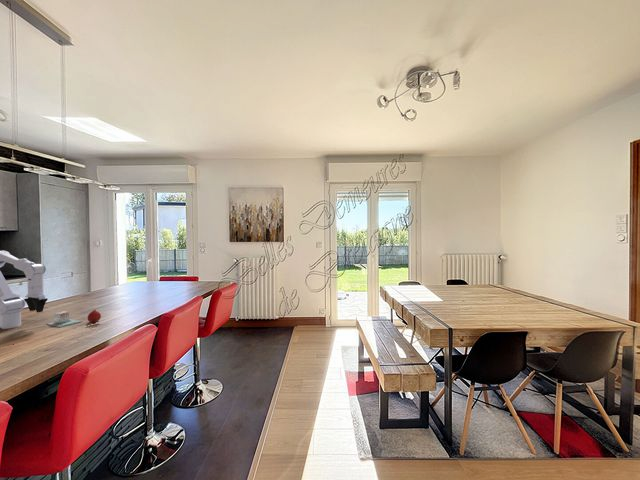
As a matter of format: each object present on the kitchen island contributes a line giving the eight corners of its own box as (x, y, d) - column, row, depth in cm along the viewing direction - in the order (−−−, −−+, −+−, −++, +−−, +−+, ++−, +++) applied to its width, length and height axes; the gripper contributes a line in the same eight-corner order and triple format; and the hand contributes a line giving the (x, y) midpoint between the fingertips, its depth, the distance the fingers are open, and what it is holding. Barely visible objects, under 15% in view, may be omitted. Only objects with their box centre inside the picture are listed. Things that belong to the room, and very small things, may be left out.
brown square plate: (18, 331, 142) (18, 329, 142) (41, 326, 150) (41, 324, 150) (27, 333, 138) (26, 331, 138) (50, 328, 147) (50, 326, 147)
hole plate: (46, 326, 150) (46, 323, 150) (68, 320, 159) (68, 318, 159) (59, 329, 145) (59, 326, 145) (82, 323, 154) (82, 320, 154)
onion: (93, 325, 151) (92, 311, 151) (85, 324, 152) (84, 310, 152) (103, 322, 156) (103, 308, 156) (95, 321, 158) (95, 308, 158)
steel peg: (54, 325, 151) (54, 313, 151) (64, 323, 155) (63, 311, 155) (60, 326, 150) (59, 313, 150) (69, 323, 154) (69, 311, 154)
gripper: (18, 286, 145) (19, 311, 146) (31, 288, 140) (32, 314, 140) (36, 284, 152) (37, 308, 152) (49, 286, 146) (50, 311, 146)
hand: (36, 311), depth 146 cm, fingers open, 7 cm apart
